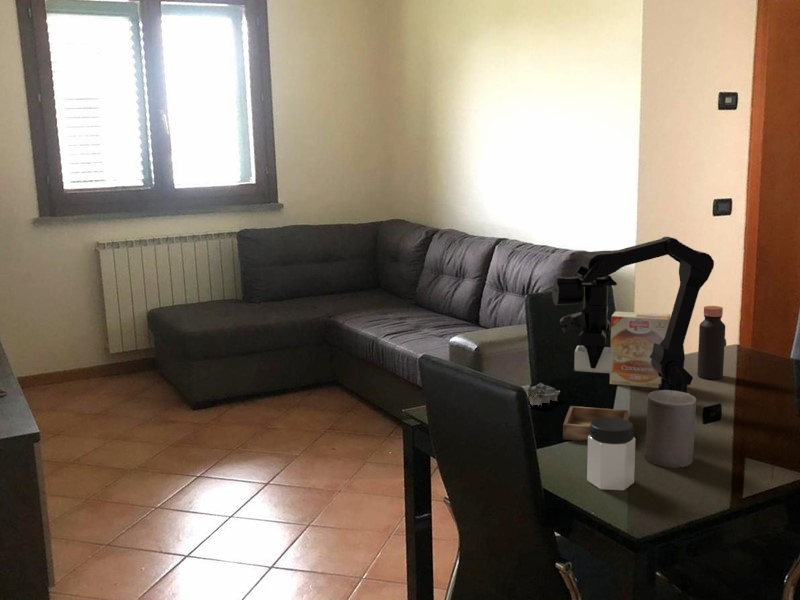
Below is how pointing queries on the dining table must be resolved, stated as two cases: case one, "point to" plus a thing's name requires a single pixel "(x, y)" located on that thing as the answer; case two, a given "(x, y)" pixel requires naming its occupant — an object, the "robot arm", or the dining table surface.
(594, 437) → the jar
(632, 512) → the dining table surface
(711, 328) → the bottle
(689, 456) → the pillar candle
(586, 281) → the robot arm
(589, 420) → the walnut crate
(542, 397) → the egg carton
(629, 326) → the coffeecake box
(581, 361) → the grey crate
